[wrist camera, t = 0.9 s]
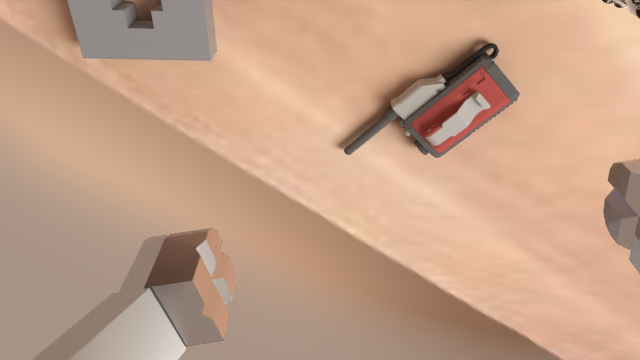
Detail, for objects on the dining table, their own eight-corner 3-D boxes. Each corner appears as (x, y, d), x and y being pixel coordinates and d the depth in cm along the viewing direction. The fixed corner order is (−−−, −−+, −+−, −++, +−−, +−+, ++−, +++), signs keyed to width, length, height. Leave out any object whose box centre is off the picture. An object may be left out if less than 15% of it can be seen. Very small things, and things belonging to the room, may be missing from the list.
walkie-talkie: (478, 23, 48) (338, 141, 56) (490, 36, 45) (339, 161, 53) (524, 81, 52) (386, 184, 60) (539, 97, 48) (389, 205, 56)
